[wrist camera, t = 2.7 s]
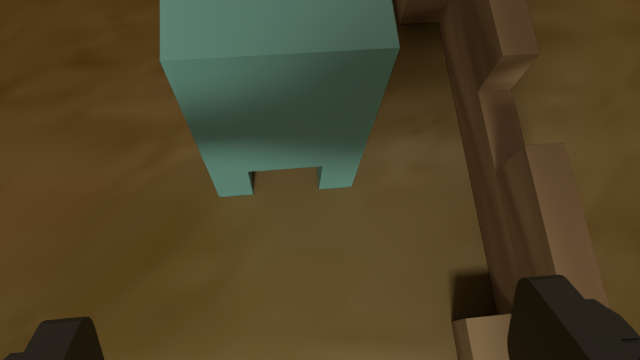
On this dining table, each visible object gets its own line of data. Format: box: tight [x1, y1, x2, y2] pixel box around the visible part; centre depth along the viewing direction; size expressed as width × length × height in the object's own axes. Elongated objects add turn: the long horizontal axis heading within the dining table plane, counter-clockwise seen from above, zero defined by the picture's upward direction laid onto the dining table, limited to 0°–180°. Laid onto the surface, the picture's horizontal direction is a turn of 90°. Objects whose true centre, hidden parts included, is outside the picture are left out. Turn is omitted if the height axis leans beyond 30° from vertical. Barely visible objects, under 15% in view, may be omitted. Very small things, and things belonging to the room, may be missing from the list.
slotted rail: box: [395, 0, 610, 360], centre depth 23 cm, size 6×22×6 cm, turn 6°
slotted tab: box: [160, 0, 400, 197], centre depth 20 cm, size 6×2×12 cm, turn 96°
